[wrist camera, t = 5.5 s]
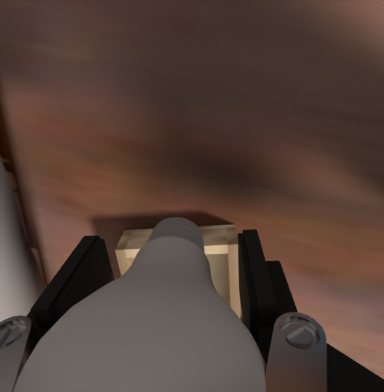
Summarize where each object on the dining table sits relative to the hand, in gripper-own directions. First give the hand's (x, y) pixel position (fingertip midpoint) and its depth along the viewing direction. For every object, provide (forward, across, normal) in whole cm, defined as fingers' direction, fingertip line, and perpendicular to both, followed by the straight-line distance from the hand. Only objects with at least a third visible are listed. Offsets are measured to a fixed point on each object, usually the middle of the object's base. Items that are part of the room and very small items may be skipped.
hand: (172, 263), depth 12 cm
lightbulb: (+3, 0, 0) cm, 3 cm away
